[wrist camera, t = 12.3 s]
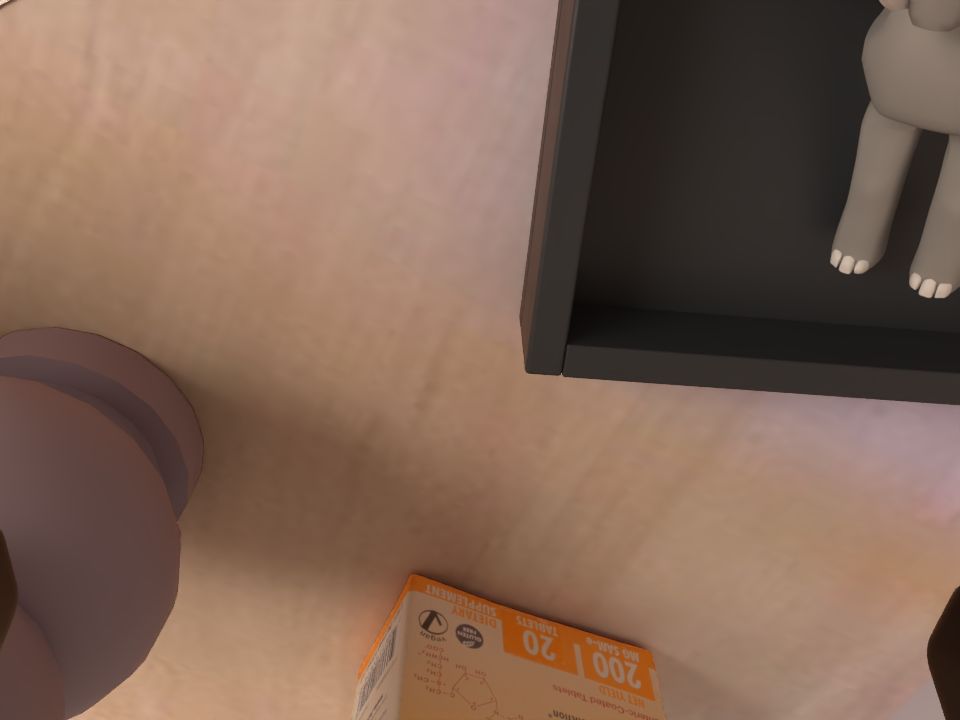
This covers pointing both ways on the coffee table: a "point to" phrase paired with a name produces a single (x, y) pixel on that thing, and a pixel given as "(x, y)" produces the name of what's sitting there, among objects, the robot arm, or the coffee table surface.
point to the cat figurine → (87, 514)
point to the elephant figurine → (907, 141)
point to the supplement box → (497, 665)
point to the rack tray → (723, 207)
